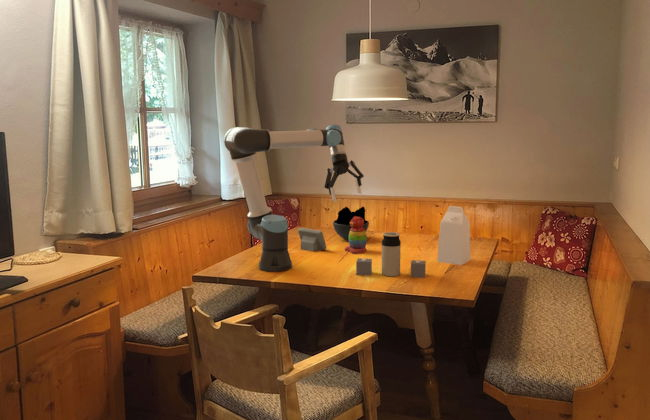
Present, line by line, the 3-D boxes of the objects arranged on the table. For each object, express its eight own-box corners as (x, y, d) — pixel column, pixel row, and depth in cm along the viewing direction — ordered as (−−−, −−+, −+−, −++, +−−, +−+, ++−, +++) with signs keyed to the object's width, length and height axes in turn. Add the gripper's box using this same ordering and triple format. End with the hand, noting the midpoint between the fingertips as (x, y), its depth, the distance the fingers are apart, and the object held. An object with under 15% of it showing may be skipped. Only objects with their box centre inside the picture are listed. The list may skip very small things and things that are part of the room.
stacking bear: (343, 250, 302) (343, 216, 299) (360, 248, 306) (360, 214, 304) (353, 254, 292) (353, 219, 290) (371, 252, 297) (371, 217, 294)
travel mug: (390, 277, 249) (390, 236, 246) (377, 273, 256) (378, 233, 253) (403, 274, 254) (404, 234, 251) (391, 271, 260) (391, 231, 257)
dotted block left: (370, 275, 253) (370, 261, 252) (356, 275, 254) (356, 261, 253) (371, 272, 259) (371, 258, 258) (358, 271, 260) (358, 257, 259)
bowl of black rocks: (327, 241, 322) (327, 207, 319) (340, 235, 340) (340, 202, 337) (361, 244, 314) (362, 210, 311) (373, 237, 332) (373, 204, 330)
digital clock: (328, 250, 301) (328, 230, 300) (314, 253, 296) (314, 232, 294) (309, 245, 314) (308, 225, 312) (295, 247, 308) (295, 227, 306)
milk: (470, 260, 279) (472, 206, 275) (461, 265, 270) (463, 209, 266) (446, 256, 286) (448, 204, 282) (437, 261, 276) (438, 207, 272)
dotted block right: (424, 277, 249) (425, 263, 248) (410, 277, 250) (410, 263, 249) (425, 274, 255) (425, 260, 254) (411, 273, 256) (411, 259, 255)
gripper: (365, 149, 283) (373, 190, 278) (320, 165, 294) (327, 205, 288) (358, 145, 277) (367, 187, 271) (313, 161, 287) (320, 202, 282)
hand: (346, 197), depth 280 cm, fingers open, 13 cm apart
